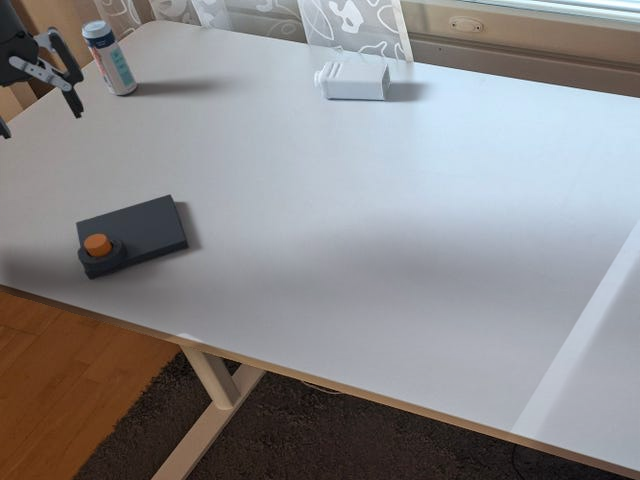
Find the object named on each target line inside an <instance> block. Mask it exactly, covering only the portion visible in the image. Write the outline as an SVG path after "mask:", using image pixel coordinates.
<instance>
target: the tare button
mask: <svg viewBox="0 0 640 480" xmlns="http://www.w3.org/2000/svg"><path fill="white" fill-rule="evenodd" d="M84 246H85V247H86V249H87V250H88V252H89V253H90V255H91V256H93V257H100V256H104V255H106V254H107V253H109V252H110V251H111V250H112V245H111V244H110V242H109V241H108V239H107V237H106V236H105V235H103V234H95V235H92V236H90V237H88V238H87V239H86V240H85V242H84Z"/></svg>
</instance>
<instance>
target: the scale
mask: <svg viewBox="0 0 640 480" xmlns="http://www.w3.org/2000/svg"><path fill="white" fill-rule="evenodd" d="M75 225H76V232H77V237H78V242H79V249H78V250H77V257H78V260H79V261H80V263H81V265H82V266H83V269H84V274H85V275H86V276H87V278H88V279H89V280H93V279H97V278H99V277H102V276H105V275H107V274H110V273H114V272H118V271H121V270H124V269H126V268H129V267H133V266H135V265H138V264H141V263H144V262H148V261H151V260H154V259H157V258H161V257H164V256H167V255H170V254H173V253H177V252H180V251H182V250H184V249H188V248H190V245H189V242H188V238H187V237H186V233H185V230H184V227H183V224H182V221H181V217H180V216H179V213H178V209H177V206H176V204H175V200H174V198H173V197H172V194H166V195H163V196H159V197H157V198H153V199H150V200H146V201H143V202H139V203H137V204H133V205H129V206H126V207H123V208H119V209H115V210H112V211H110V212H107V213H103V214H100V215H96V216H93V217H90V218H85V219H83V220H80V221H76V222H75ZM95 234H103V235H105V236H106V237H107V239H108V241H109V242H110V244H111V245H112V250H111V251H110V252H109V253H107V254H106V255H104V256H100V257H93V256H91V255H90V253H89V252H88V250H87V249H86V247H85V246H84V242H85V240H86V239H87V238H88V237H90V236H92V235H95Z"/></svg>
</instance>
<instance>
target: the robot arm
mask: <svg viewBox="0 0 640 480" xmlns="http://www.w3.org/2000/svg"><path fill="white" fill-rule="evenodd" d="M40 47H43V48H45V49H46V50H47V51H48V52H50V53H52V54H56V53H57V55H58V57H59V58H60V60H61V62H62V63H63V65H64V66H65V68H66V70H65V71H64V72H62V71H61V70H59V69H57V68H56V67H54V66H52V65H51V64H50V63H49V62H47V60H44V59H43V58H40V57H39V55H40ZM33 77H34V78H36V79H38V80H39V81H42V82H44V83H46V84H50V85H52V86H54V87H56V88H58V89H59V90H60V92H61V95H62V96H63V99H64V100H65V102H66V104H67V105H68V107H69V109H70V110H71V112H72V114H73V116H74V117H75V119H76V120H77V119H81V118H83V116H82V114H83V113H84V112H85V108H84V104H83V102H82V100H81V98H80V96H79V94H78V93H77V91H76V89H75V85H77V84H79V83H83V82H84V80H85V77H84V73H83V71H82V68H81V66H80V64H79V63H78V61H77V60H76V58H75V56H74V54H73V53H72V51H71V49H70V48H69V46H68V45H67V43H66V41H65V40H64V38H63V36H62V34H61V32H60V31H59V29H58V28H57V27H55V26H49V27H47V30H46V31H45V32H42V33H40V34H37V35H33V34H31V33H30V32H29V31H28V30H27V29H26V27H25V25H24V24H23V22H22V21H21V19H20V17H19V16H18V14H17V12H16V10H15V8H14V7H13V4H12V3H11V0H0V87H2V88H7V87H10V86H12V85H14V84H16V83H26V82H29V81H31V79H32V78H33ZM1 136H2V137H3V139H4V140H8V139H12V133H11V130H10V128H9V126H8V125H7V123H6V122H5V120H4V118H3V117H2V115H0V137H1Z"/></svg>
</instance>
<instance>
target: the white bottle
mask: <svg viewBox="0 0 640 480" xmlns="http://www.w3.org/2000/svg"><path fill="white" fill-rule="evenodd" d="M390 75H391V74H390V68H389V64H388V63H366V62H365V63H364V62H343V61H342V62H341V61H329V60H327V61H326V62H325V64H324V66H323V68H322V70H316V71H315V73H314V85H315V87H316V89H318V90H321V95H322V97H323V98H324V99H329V100H330V99H344V100H345V99H346V100H376V101H377V100H378V101H386V98H387V97H386V96H387V94H388V90H389V89H390V86H391V76H390Z"/></svg>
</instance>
